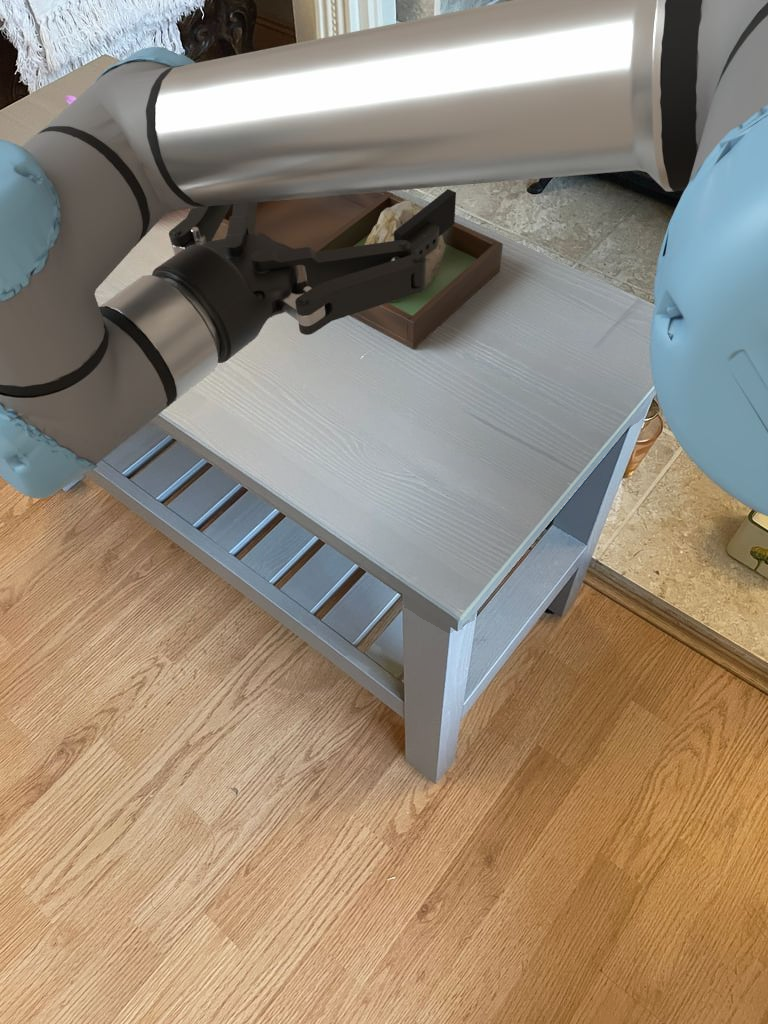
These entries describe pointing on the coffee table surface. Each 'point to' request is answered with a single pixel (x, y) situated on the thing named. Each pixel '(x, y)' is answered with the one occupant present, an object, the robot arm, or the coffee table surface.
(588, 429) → the coffee table surface
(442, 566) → the coffee table surface
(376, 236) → the rock
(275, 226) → the divided wooden tray
